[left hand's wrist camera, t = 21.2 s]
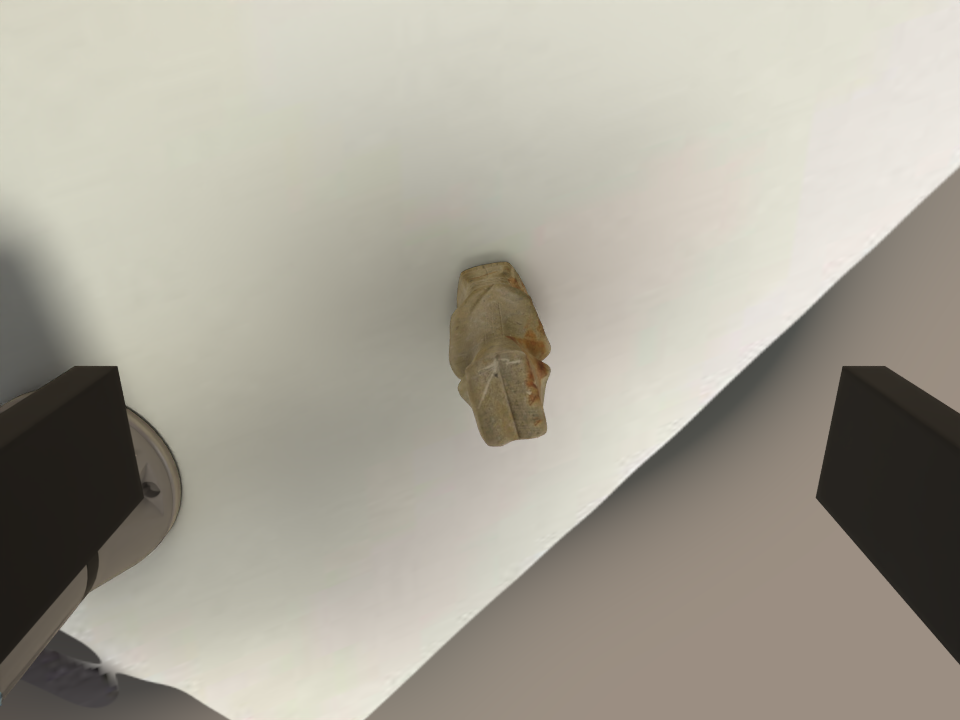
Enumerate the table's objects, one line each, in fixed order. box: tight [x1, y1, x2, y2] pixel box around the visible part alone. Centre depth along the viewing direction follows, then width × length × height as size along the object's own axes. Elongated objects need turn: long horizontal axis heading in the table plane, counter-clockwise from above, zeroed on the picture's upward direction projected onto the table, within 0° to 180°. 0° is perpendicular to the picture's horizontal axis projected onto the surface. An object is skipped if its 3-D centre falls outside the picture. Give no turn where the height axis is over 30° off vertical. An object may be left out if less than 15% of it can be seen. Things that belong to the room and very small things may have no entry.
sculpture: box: [449, 262, 551, 446], centre depth 40 cm, size 6×7×15 cm
